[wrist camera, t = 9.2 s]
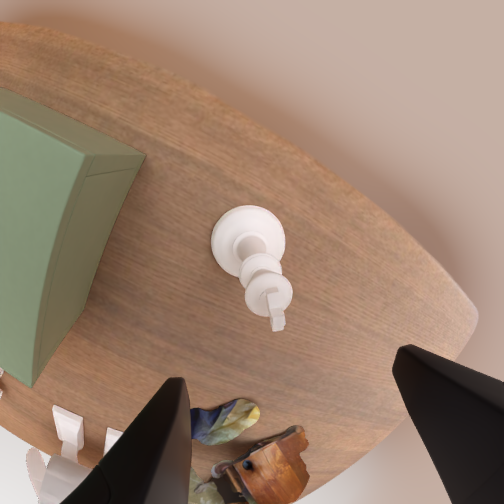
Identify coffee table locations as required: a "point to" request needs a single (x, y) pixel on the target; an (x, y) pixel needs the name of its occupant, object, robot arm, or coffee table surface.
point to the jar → (228, 492)
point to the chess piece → (254, 259)
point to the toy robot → (63, 459)
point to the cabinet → (52, 224)
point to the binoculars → (0, 372)
